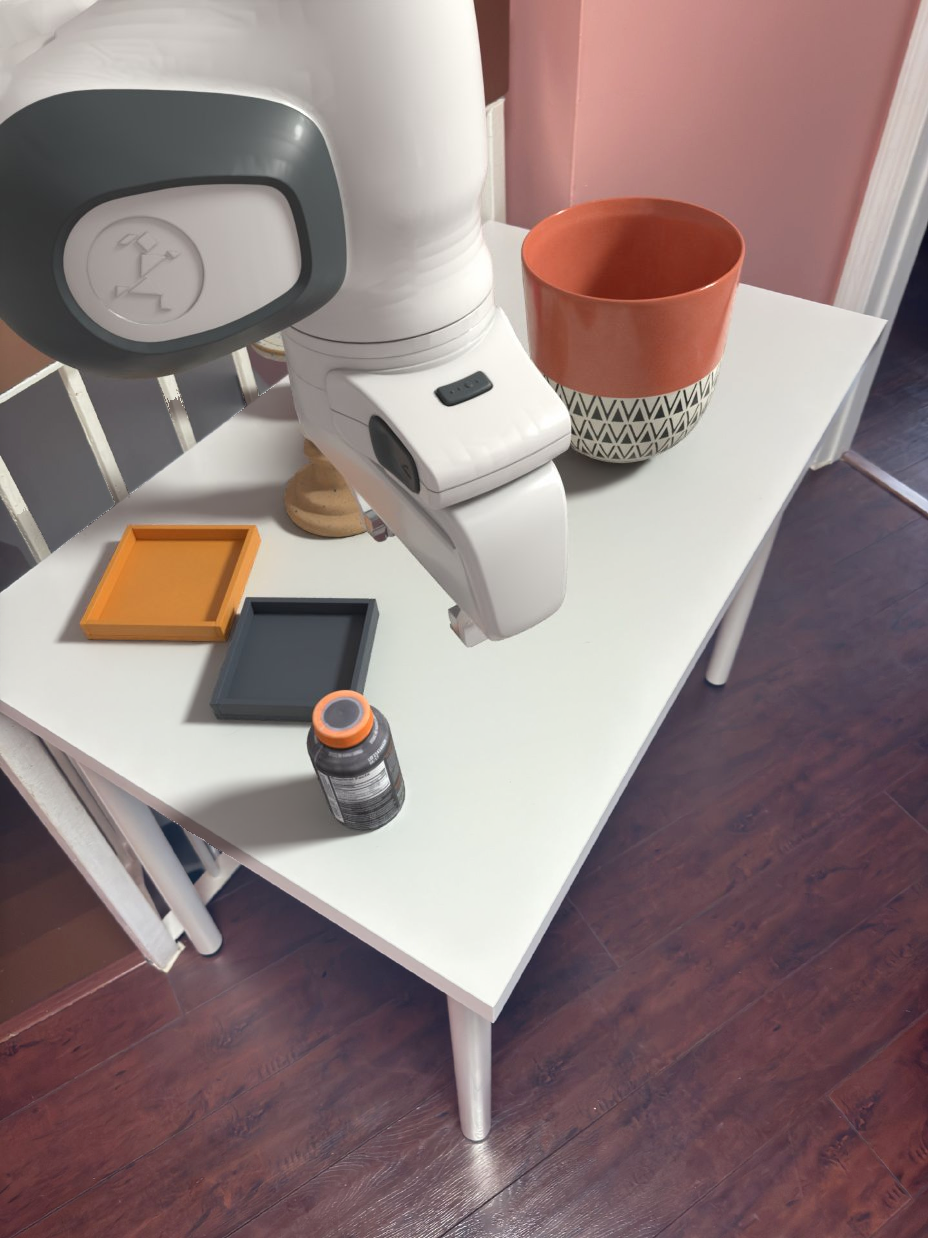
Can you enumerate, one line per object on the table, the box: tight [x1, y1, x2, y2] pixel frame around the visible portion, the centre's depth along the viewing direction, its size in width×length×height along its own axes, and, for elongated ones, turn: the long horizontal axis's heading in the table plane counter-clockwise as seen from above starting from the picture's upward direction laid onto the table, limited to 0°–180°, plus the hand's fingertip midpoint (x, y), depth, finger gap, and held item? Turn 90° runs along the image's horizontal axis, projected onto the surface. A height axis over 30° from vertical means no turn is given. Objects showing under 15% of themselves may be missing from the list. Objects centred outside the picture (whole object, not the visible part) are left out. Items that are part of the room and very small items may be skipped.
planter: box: [520, 196, 746, 464], centre depth 88 cm, size 20×20×21 cm
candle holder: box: [249, 332, 367, 538], centre depth 86 cm, size 12×12×20 cm
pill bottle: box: [306, 690, 406, 832], centre depth 65 cm, size 6×6×11 cm
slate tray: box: [209, 596, 380, 722], centre depth 78 cm, size 12×12×2 cm
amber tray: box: [78, 524, 262, 642], centre depth 86 cm, size 13×13×2 cm
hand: (425, 579), depth 49 cm, fingers open, 8 cm apart
